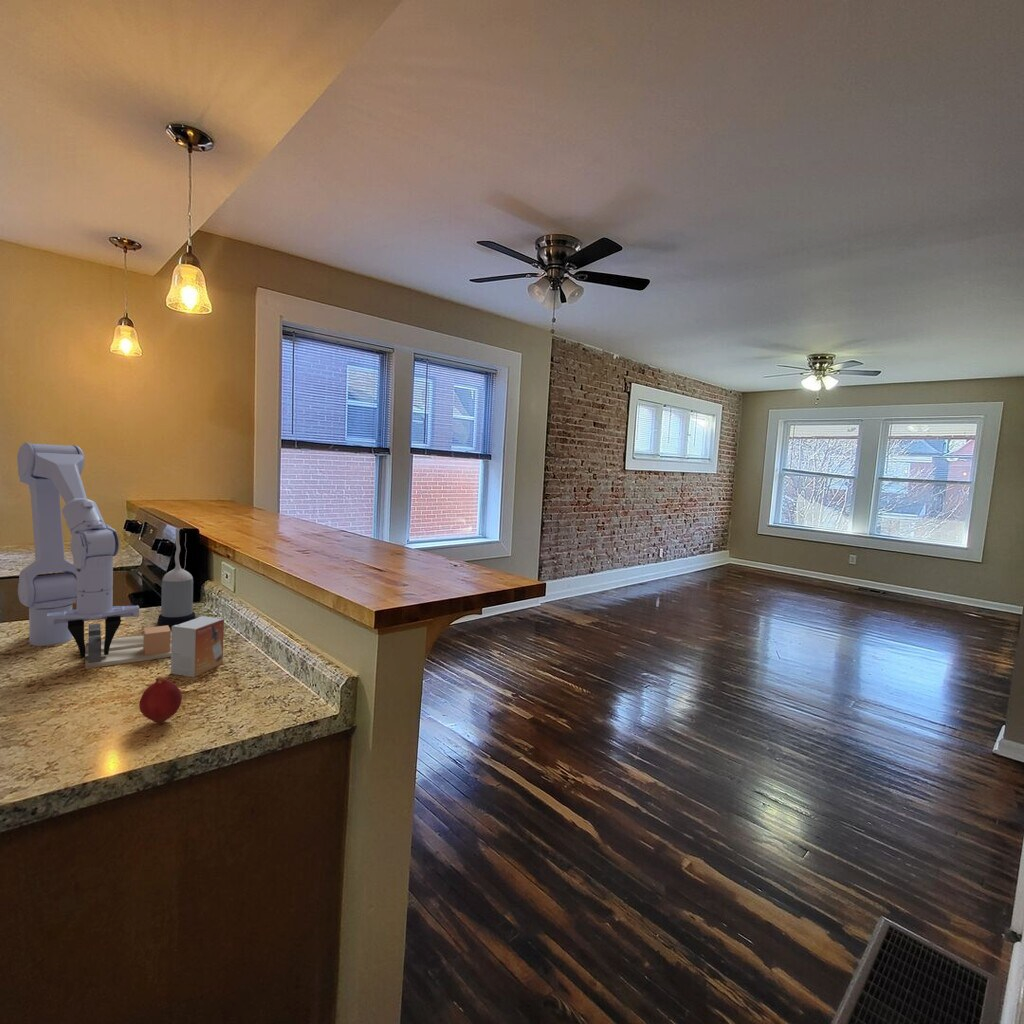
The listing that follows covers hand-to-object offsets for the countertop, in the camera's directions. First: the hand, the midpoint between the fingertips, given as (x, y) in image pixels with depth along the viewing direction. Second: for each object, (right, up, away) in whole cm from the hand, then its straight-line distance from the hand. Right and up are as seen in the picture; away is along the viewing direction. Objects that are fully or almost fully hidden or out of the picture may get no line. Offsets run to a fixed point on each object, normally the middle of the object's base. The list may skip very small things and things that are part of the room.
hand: (94, 654), depth 108 cm
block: (+8, -1, +7) cm, 11 cm away
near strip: (+5, -2, +4) cm, 7 cm away
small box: (+20, -4, +1) cm, 21 cm away
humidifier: (-1, 0, +27) cm, 27 cm away
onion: (+26, -6, -20) cm, 33 cm away
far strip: (0, -1, +11) cm, 11 cm away
